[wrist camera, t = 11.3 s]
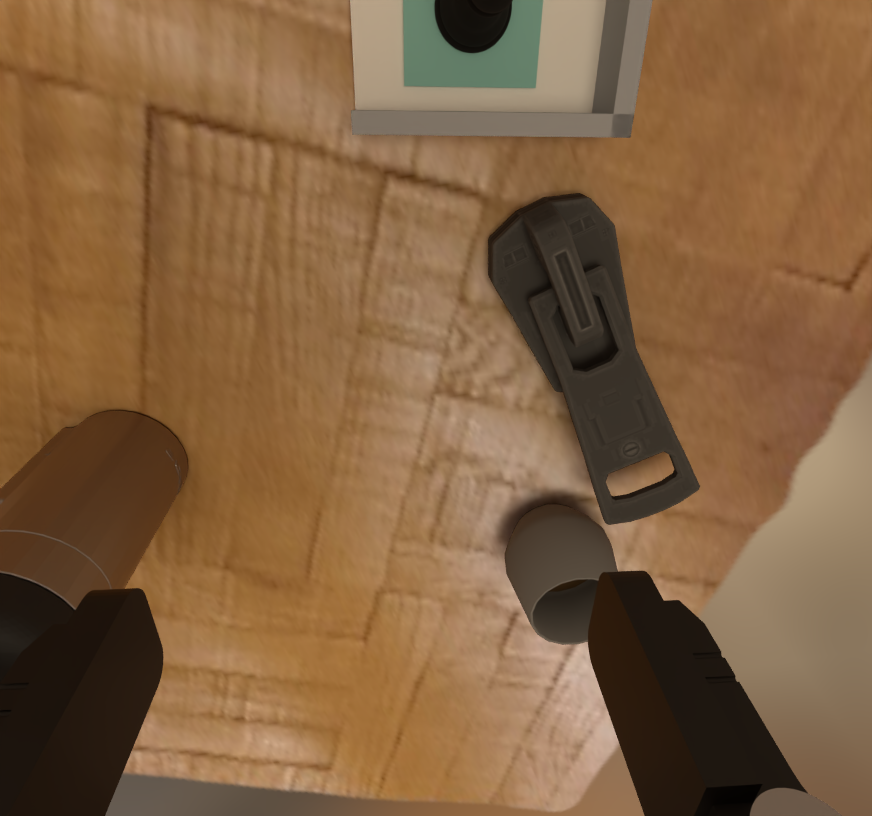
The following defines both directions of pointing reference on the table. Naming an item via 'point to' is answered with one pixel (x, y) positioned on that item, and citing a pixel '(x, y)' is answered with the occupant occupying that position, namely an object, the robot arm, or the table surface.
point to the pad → (449, 67)
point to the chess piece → (472, 22)
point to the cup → (558, 570)
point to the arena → (508, 107)
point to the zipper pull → (588, 344)
